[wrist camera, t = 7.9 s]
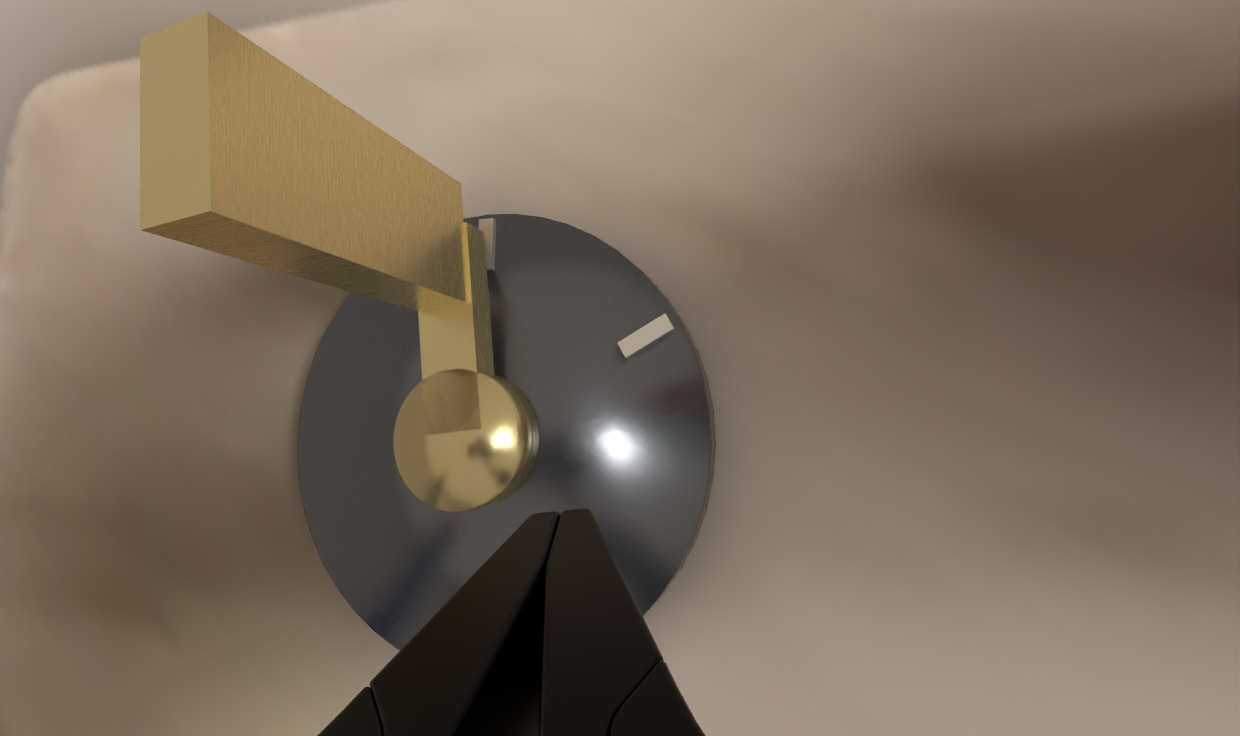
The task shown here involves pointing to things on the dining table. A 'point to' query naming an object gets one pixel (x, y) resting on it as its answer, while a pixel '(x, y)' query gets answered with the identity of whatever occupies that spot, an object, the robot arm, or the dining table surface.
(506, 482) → the gold bent piece
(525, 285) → the lock plate
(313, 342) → the dining table surface
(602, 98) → the dining table surface
